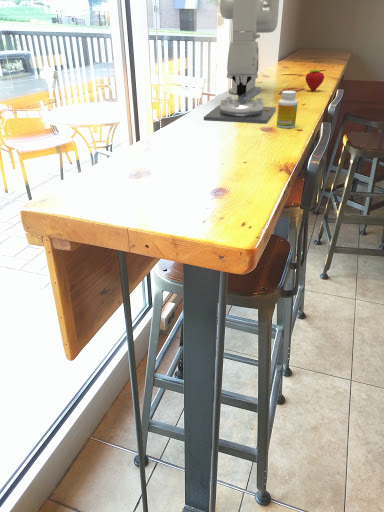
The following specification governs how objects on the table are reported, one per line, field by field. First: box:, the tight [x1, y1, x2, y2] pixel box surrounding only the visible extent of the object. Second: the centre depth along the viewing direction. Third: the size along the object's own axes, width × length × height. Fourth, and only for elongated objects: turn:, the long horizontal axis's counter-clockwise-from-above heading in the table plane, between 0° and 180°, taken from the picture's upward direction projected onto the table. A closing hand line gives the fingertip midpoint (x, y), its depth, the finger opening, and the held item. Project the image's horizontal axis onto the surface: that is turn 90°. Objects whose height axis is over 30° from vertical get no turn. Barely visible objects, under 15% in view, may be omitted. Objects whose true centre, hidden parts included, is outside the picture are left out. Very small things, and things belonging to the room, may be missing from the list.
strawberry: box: [305, 67, 325, 92], centre depth 170 cm, size 6×8×10 cm
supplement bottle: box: [276, 90, 299, 129], centre depth 119 cm, size 5×5×10 cm
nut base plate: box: [203, 104, 277, 124], centre depth 135 cm, size 20×20×1 cm
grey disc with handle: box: [219, 86, 264, 116], centre depth 140 cm, size 29×14×4 cm, turn 159°
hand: (241, 96), depth 143 cm, fingers closed
